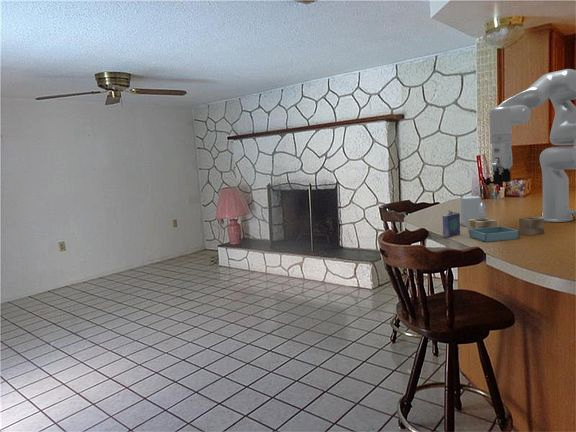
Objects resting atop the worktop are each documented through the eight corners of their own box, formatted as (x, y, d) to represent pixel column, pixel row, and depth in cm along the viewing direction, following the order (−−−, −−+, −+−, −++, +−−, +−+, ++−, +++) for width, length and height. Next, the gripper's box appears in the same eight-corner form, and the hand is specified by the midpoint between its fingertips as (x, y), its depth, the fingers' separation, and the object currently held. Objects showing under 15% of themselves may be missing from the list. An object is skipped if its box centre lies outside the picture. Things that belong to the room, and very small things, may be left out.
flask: (446, 238, 167) (445, 211, 166) (440, 237, 170) (439, 211, 169) (461, 234, 172) (460, 208, 171) (455, 233, 175) (454, 208, 173)
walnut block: (533, 231, 165) (533, 216, 164) (544, 234, 159) (544, 218, 159) (519, 233, 165) (518, 218, 164) (529, 235, 159) (529, 220, 158)
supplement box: (482, 225, 186) (481, 197, 184) (464, 226, 187) (463, 198, 185) (478, 222, 193) (477, 195, 191) (461, 223, 194) (460, 196, 192)
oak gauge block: (485, 229, 177) (485, 217, 176) (497, 232, 169) (496, 220, 168) (467, 231, 176) (467, 219, 176) (478, 234, 168) (478, 222, 168)
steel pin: (483, 231, 174) (482, 202, 172) (487, 232, 171) (486, 203, 170) (477, 231, 174) (476, 203, 172) (481, 232, 171) (480, 203, 170)
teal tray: (501, 233, 167) (500, 226, 166) (519, 238, 156) (519, 230, 155) (469, 237, 166) (469, 229, 165) (485, 242, 154) (485, 234, 154)
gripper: (504, 139, 154) (505, 185, 157) (518, 137, 166) (519, 180, 169) (482, 141, 159) (484, 186, 162) (498, 139, 172) (499, 181, 174)
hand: (502, 183), depth 165 cm, fingers open, 9 cm apart
